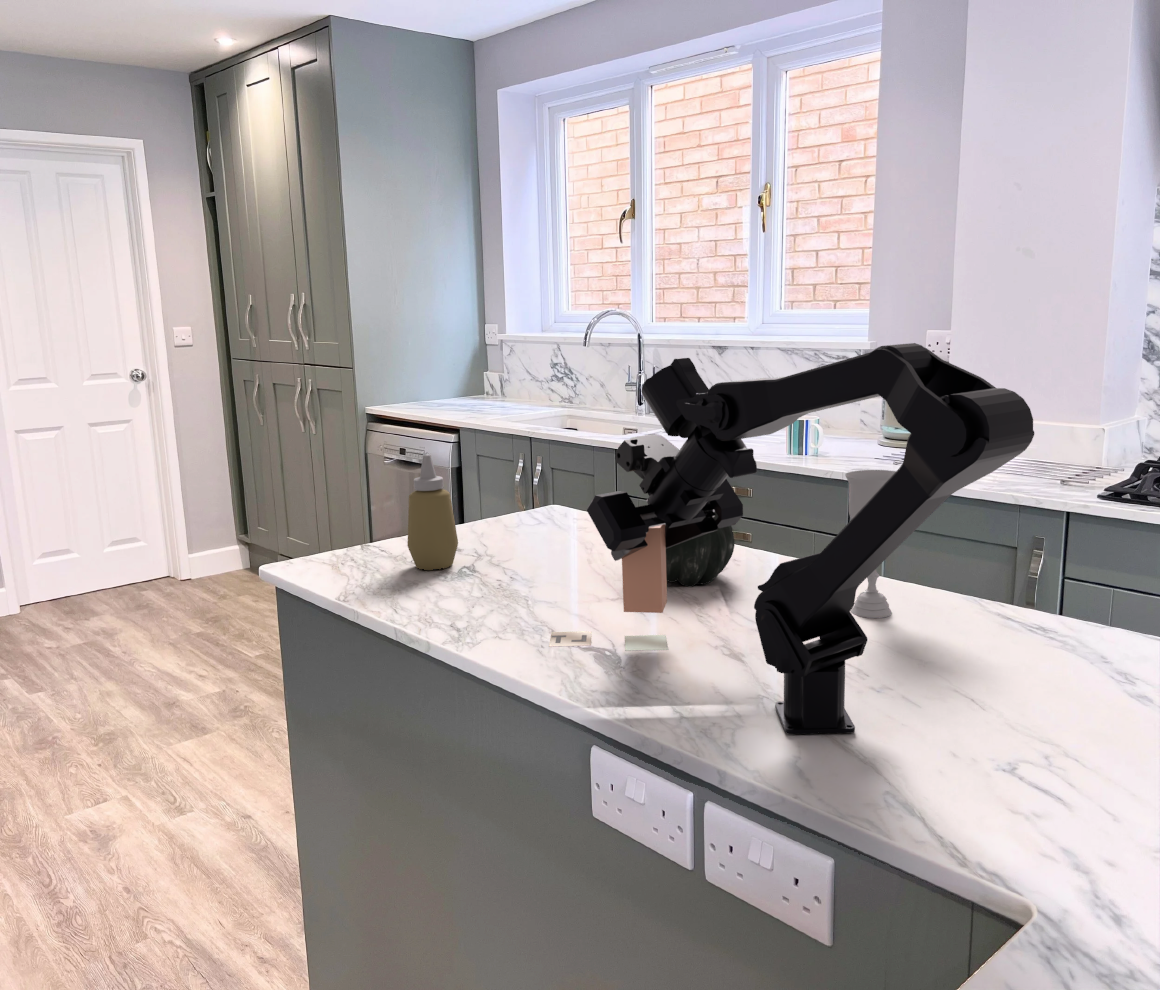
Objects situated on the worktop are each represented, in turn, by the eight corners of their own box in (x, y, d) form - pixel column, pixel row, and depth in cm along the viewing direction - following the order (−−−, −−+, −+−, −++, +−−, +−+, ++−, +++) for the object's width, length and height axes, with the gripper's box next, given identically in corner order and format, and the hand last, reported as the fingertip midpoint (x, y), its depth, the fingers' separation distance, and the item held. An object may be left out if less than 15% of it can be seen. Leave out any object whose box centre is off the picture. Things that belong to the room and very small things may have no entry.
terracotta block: (662, 612, 110) (660, 527, 108) (623, 611, 111) (620, 527, 109) (667, 601, 114) (664, 519, 112) (629, 600, 115) (627, 519, 113)
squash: (646, 526, 151) (633, 467, 140) (741, 532, 147) (736, 473, 136) (630, 604, 143) (616, 548, 132) (731, 612, 139) (724, 556, 128)
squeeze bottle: (403, 564, 155) (394, 454, 152) (451, 557, 159) (444, 449, 155) (416, 576, 148) (408, 461, 145) (466, 568, 151) (459, 456, 148)
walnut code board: (669, 659, 110) (668, 652, 110) (547, 662, 110) (547, 655, 110) (665, 635, 118) (665, 629, 118) (551, 638, 118) (551, 631, 118)
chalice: (860, 623, 119) (863, 481, 116) (832, 607, 126) (834, 472, 122) (911, 616, 121) (916, 476, 118) (881, 600, 128) (884, 468, 124)
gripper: (724, 404, 110) (665, 487, 121) (593, 421, 99) (541, 509, 110) (775, 480, 105) (708, 559, 116) (643, 506, 95) (583, 589, 106)
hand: (636, 552), depth 112 cm, fingers closed on terracotta block, 6 cm apart
